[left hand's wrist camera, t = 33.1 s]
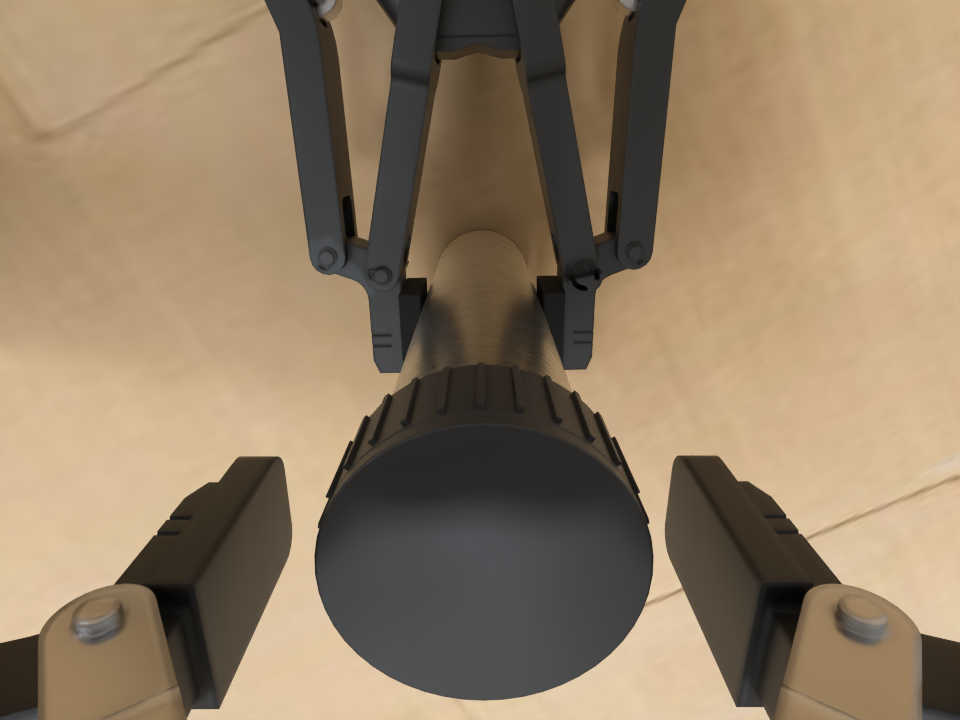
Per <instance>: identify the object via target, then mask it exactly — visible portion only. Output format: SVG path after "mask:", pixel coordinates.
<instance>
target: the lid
mask: <svg viewBox="0 0 960 720" xmlns="http://www.w3.org/2000/svg"><path fill="white" fill-rule="evenodd" d="M638 493H640V491H639V489H638V486H637V484H636V482H635V480H634V478H633V475H632V473H631V471H630V469H629V466H628V464H627V462H626V460H625V458H624V455H623V453H622V451H621V449H620V446H619V444H618V442H617V440H616V438H615V437H613V438H611V437H610V434H609V432H608V430H607V427H606V425H605V423H604V421H603V418H602V416H601V415H600V413H599V412H597V413H595V414H594V413H593V412H592V410H591V409H590V408H589V407H588V406H587V405H586V404H585V403H584V402H583V401H581V398H580V395H579V393H577V392H576V391H573V392H570V391H569V390H567V389H565V388H564V387H562V386H561V385H559V384H558V383H555V382H553V381H552V380H551V377H550V376H548V375H545V376H544V377H543V376H541V375H537V374H534V373H531V372H528V371H525V370H522V369H519V367H518V366H515V365H512V368H511V367H506V366H494V365H484V362H478V365H473V366H462V367H456V368H451V369H450V366H447V367H444V368H443V370H442V371H439V372H436V373H433V374H430V375H427V376H424V377H422V378H420V379H418V377H415V378H413V379H412V380H411V383H410V384H408V385H406V386H405V387H403V388H402V389H400V390H398V391H397V392H395V393H394V394H393V395H392V396H391V395H390V394H387V395H386V396H385V397H384V399H383V402H382V404H381V405H380V406H379V407H378V408H377V409H376V410H375V411H374V413H373V414H372V415H371V416H370V417H368V416H367V415H366V416H365V417H364V418H363V420H362V422H361V425H360V427H359V430H358V432H357V434H356V437H355V439H354V441H350V442H349V444H348V447H347V449H346V451H345V453H344V456H343V458H342V460H341V463H340V465H339V467H338V470H337V472H336V474H335V477H334V479H333V481H332V483H331V486H330V488H329V490H328V493H327V495H326V497H327V498H329V499H328V502H327V504H326V506H325V509H324V511H323V513H322V516H321V518H320V520H319V523H318V528H319V532H318V535H317V540H316V548H315V575H316V580H317V585H318V591H319V594H320V597H321V600H322V603H323V605H324V608H325V611H326V612H327V614H328V616H329V618H330V620H331V622H332V624H333V625H334V627H335V628H336V630H337V631H338V632H339V634H340V635H341V636H342V638H343V639H344V641H345V642H346V643H347V644H348V645H349V646H350V647H351V648H352V649H353V650H354V651H355V652H356V653H357V654H358V655H359V656H360V657H362V658H363V659H364V660H365V661H367V662H368V663H369V664H370V665H372V666H373V667H374V668H376V669H378V670H379V671H381V672H382V673H384V674H385V675H387V676H389V677H391V678H393V679H395V680H397V681H399V682H401V683H403V684H405V685H408V686H410V687H413V688H416V689H418V690H421V691H424V692H428V693H432V694H436V695H440V696H444V697H450V698H457V699H464V700H504V699H511V698H518V697H524V696H528V695H532V694H536V693H540V692H544V691H546V690H549V689H552V688H555V687H557V686H560V685H563V684H565V683H567V682H569V681H571V680H573V679H575V678H577V677H579V676H581V675H582V674H584V673H585V672H587V671H589V670H590V669H592V668H593V667H595V666H596V665H597V664H599V663H600V662H601V661H602V660H604V659H605V658H606V657H607V656H609V655H610V654H611V653H612V652H613V651H614V650H615V649H616V648H617V647H618V646H619V645H620V643H621V642H622V641H623V640H624V639H625V637H626V636H627V635H628V633H629V632H630V631H631V629H632V628H633V627H634V625H635V623H636V621H637V619H638V618H639V616H640V614H641V612H642V610H643V608H644V605H645V602H646V599H647V597H648V594H649V590H650V585H651V580H652V575H653V549H652V540H651V535H650V532H649V528H648V525H647V524H649V518H648V516H647V514H646V512H645V509H644V507H643V505H642V502H641V500H640V498H639V496H638Z"/></svg>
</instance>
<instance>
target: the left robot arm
mask: <svg viewBox="0 0 960 720" xmlns="http://www.w3.org/2000/svg"><path fill="white" fill-rule="evenodd" d="M157 532H158V533H157V535H154V536H153V538H152V539H151V540H150V541H149V542H148V544H147V545H146V546H145V547H144V549H143V550H142V551H141V552H140V553H139V555H138V556H137V557H136V558H135V560H134V561H133V562H132V563H131V564H130V566H129V567H128V568H127V569H126V571H125V572H124V573H123V574H122V575H121V577H120V578H119V579H118V580H117V582H116V583H115V584H114V585H111V586H106V587H103V588H100V589H96V590H94V591H91V592H88V593H86V594H84V595H82V596H80V597H78V598H76V599H74V600H73V601H71V602H69V603H68V604H66V605H65V606H63V607H62V608H61V609H59V610H58V611H57V612H56V613H55V614H54V615H52V617H51V618H50V619H49V620H48V621H47V622H46V624H45V625H44V627H43V628H42V630H41V632H40V634H38V635H34V636H30V637H26V638H22V639H17V640H13V641H8V642H4V643H0V720H187V717H188V715H189V713H190V711H191V709H219V708H220V706H221V704H222V702H223V699H224V697H225V695H226V693H227V691H228V688H229V686H230V684H231V682H232V680H233V677H234V675H235V673H236V671H237V669H238V666H239V664H240V662H241V660H242V658H243V656H244V653H245V651H246V649H247V647H248V645H249V642H250V640H251V638H252V636H253V634H254V631H255V629H256V627H257V625H258V623H259V620H260V618H261V616H262V614H263V612H264V609H265V607H266V605H267V603H268V601H269V599H270V596H271V594H272V592H273V590H274V588H275V585H276V583H277V581H278V579H279V577H280V574H281V572H282V570H283V568H284V566H285V563H286V561H287V559H288V556H289V553H290V548H291V541H292V522H291V515H290V507H289V499H288V492H287V484H286V476H285V469H284V464H283V461H282V459H281V458H280V457H238V458H237V459H236V460H235V461H234V463H233V464H232V465H231V467H230V468H229V469H228V470H227V472H226V473H225V474H224V476H223V477H222V478H221V480H220V481H219V482H209V483H207V484H206V485H204V486H202V487H201V488H199V489H198V490H196V491H195V492H193V493H192V494H190V495H189V496H187V497H186V498H184V500H183V501H182V502H181V503H180V505H179V506H178V507H177V508H176V509H175V511H174V512H173V513H172V514H171V516H170V520H166V522H165V523H164V524H163V525H162V527H161V528H160V529H159V530H158V531H157ZM665 540H666V547H667V552H668V555H669V558H670V560H671V563H672V565H673V567H674V569H675V571H676V574H677V576H678V578H679V580H680V583H681V585H682V587H683V589H684V591H685V594H686V596H687V598H688V600H689V603H690V605H691V607H692V609H693V611H694V614H695V616H696V618H697V620H698V623H699V625H700V627H701V629H702V631H703V634H704V636H705V638H706V640H707V643H708V645H709V647H710V649H711V651H712V654H713V656H714V658H715V660H716V663H717V665H718V667H719V669H720V671H721V674H722V676H723V678H724V680H725V683H726V685H727V687H728V689H729V691H730V694H731V696H732V698H733V700H734V703H735V705H736V707H764V708H765V710H766V712H767V714H768V716H769V718H770V720H960V642H955V641H951V640H946V639H942V638H937V637H933V636H929V635H924V634H920V632H919V630H918V628H917V627H916V625H915V624H914V622H913V621H912V620H911V619H910V618H909V617H908V615H906V614H905V613H904V612H903V611H902V610H901V609H899V608H898V607H897V606H895V605H894V604H892V603H891V602H889V601H887V600H886V599H884V598H882V597H880V596H878V595H876V594H874V593H872V592H869V591H866V590H864V589H860V588H857V587H854V586H849V585H843V584H842V583H841V582H840V581H839V580H838V579H837V577H836V576H835V575H834V574H833V572H832V571H831V570H830V569H829V567H828V566H827V565H826V564H825V562H824V561H823V560H822V559H821V558H820V556H819V555H818V554H817V553H816V551H815V550H814V549H813V548H812V546H811V545H810V544H809V543H808V542H807V540H806V539H805V538H804V537H803V535H802V534H799V533H798V529H797V528H796V527H795V525H794V524H793V523H792V522H791V521H790V519H786V514H785V513H784V512H783V511H782V509H781V508H780V507H779V506H778V504H777V503H776V502H775V501H774V500H773V498H772V497H771V496H769V495H768V494H766V493H765V492H763V491H762V490H760V489H759V488H757V487H756V486H754V485H752V484H751V483H749V482H748V481H737V480H736V478H735V477H734V476H733V474H732V473H731V472H730V470H729V469H728V468H727V466H726V465H725V464H724V462H723V461H722V460H721V458H720V457H718V456H677V457H676V458H675V460H674V463H673V467H672V474H671V482H670V490H669V498H668V506H667V514H666V521H665Z"/></svg>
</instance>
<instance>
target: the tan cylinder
mask: <svg viewBox="0 0 960 720" xmlns="http://www.w3.org/2000/svg"><path fill="white" fill-rule="evenodd" d="M478 362H484V365H494V366H506V367H511V368H512V365H515V366H518V367H519V369H522V370H525V371H528V372H531V373H534V374H537V375H541V376H543V377H544V376H545V375H548V376H550V377H551V380H552V381H553V382H555V383H558V384H559V385H561V386H562V387H564V388H565V389H567V390H569V391H570V392H572V390H571V387H570V384H569V382H568V379H567V376H566V373H565V371H564V368H563V365H562V362H561V359H560V357H559V354H558V351H557V348H556V346H555V343H554V340H553V337H552V334H551V332H550V329H549V326H548V323H547V321H546V318H545V315H544V312H543V309H542V307H541V304H540V301H539V298H538V296H537V293H536V290H535V287H534V284H533V282H532V279H531V276H530V273H529V271H528V268H527V265H526V262H525V260H524V257H523V255H522V253H521V251H520V250H519V248H518V247H517V246H516V245H515V244H514V243H513V242H512V241H511V240H510V239H508V238H507V237H505V236H503V235H501V234H499V233H496V232H493V231H488V230H476V231H471V232H467V233H465V234H462V235H461V236H459V237H457V238H456V239H454V240H453V241H452V242H451V243H450V244H449V245H448V246H447V247H446V248H445V250H444V251H443V253H442V255H441V257H440V259H439V262H438V265H437V268H436V270H435V273H434V276H433V279H432V282H431V285H430V288H429V291H428V294H427V297H426V299H425V302H424V305H423V308H422V311H421V314H420V317H419V320H418V323H417V326H416V328H415V331H414V334H413V337H412V340H411V343H410V346H409V349H408V352H407V354H406V357H405V360H404V363H403V366H402V369H401V372H400V375H399V378H398V381H397V383H396V386H395V389H394V392H393V394H394V393H395V392H397V391H398V390H400V389H402V388H403V387H405V386H406V385H408V384H410V383H411V380H412V379H413V378H415V377H418V379H420V378H422V377H424V376H427V375H430V374H433V373H436V372H439V371H442V370H443V368H444V367H447V366H450V369H451V368H456V367H462V366H473V365H478Z"/></svg>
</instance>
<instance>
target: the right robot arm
mask: <svg viewBox="0 0 960 720" xmlns="http://www.w3.org/2000/svg"><path fill="white" fill-rule="evenodd" d="M376 1H377V2H378V3H379V5H380V6H381V8H382V9H383V10H384V12H385V13H386V15H387V16H388V17H389V19H390V20H391V22H392V23H393V25H394V26H395V27H396V30H395V37H394V45H393V52H392V60H391V84H390V92H389V99H388V106H387V113H386V120H385V128H384V135H383V142H382V149H381V156H380V163H379V171H378V178H377V185H376V192H375V199H374V206H373V214H372V221H371V228H370V235H369V241H367V240H365V239H362V238H359V237H358V235H357V226H356V217H355V207H354V198H353V189H352V179H351V170H350V161H349V151H348V142H347V133H346V123H345V114H344V105H343V95H342V86H341V77H340V67H339V58H338V52H337V46H336V41H335V37H334V33H333V30H332V26H331V24H330V21H331V20H333V19H334V18H336V17H337V16H338V14H339V13H340V11H341V9H342V2H343V0H265V2H266V4H267V7H268V9H269V11H270V13H271V15H272V17H273V19H274V22H275V24H276V26H277V28H278V30H279V33H280V41H281V48H282V56H283V63H284V70H285V78H286V85H287V92H288V100H289V107H290V114H291V122H292V129H293V136H294V144H295V151H296V158H297V166H298V173H299V180H300V188H301V195H302V202H303V210H304V217H305V224H306V232H307V239H308V247H309V254H310V259H311V262H312V265H313V266H314V267H315V269H316V270H317V271H319V272H321V273H322V274H327V275H332V274H338V275H341V276H344V277H347V278H350V279H353V280H355V281H357V282H358V283H360V284H361V285H362V286H363V287H364V289H365V290H366V292H367V294H368V298H369V308H370V320H371V332H372V344H373V356H374V362H375V364H376V366H377V367H378V369H379V371H380V373H400V372H401V369H402V366H403V363H404V360H405V357H406V354H407V352H408V349H409V346H410V343H411V340H412V337H413V334H414V331H415V328H416V326H417V323H418V320H419V317H420V314H421V311H422V308H423V305H424V302H425V299H426V297H427V278H407V280H406V268H407V265H408V263H409V261H408V255H409V249H410V243H411V237H412V231H413V224H414V218H415V212H416V206H417V200H418V194H419V188H420V182H421V176H422V169H423V163H424V157H425V151H426V145H427V139H428V133H429V127H430V121H431V115H432V108H433V102H434V96H435V92H436V88H437V84H438V79H439V73H440V67H441V61H442V60H450V59H458V58H461V57H464V56H467V55H470V54H473V53H477V52H479V53H483V54H487V55H491V56H494V57H498V58H501V59H502V58H515V63H516V68H517V73H518V77H519V82H520V86H521V89H522V93H523V97H524V102H525V107H526V112H527V117H528V122H529V127H530V133H531V138H532V143H533V148H534V153H535V158H536V163H537V168H538V173H539V178H540V183H541V188H542V193H543V198H544V203H545V208H546V213H547V218H548V223H549V228H550V233H551V238H552V243H553V249H554V254H555V259H556V263H557V276H537V296H538V298H539V301H540V304H541V307H542V309H543V312H544V315H545V318H546V321H547V323H548V326H549V329H550V332H551V334H552V337H553V340H554V343H555V346H556V348H557V351H558V354H559V357H560V359H561V362H562V365H563V368H564V370H575V369H586V368H587V366H588V364H589V362H590V360H591V358H592V345H593V343H592V341H593V325H594V305H595V293H596V289H597V288H598V287H599V286H600V285H601V282H602V280H603V279H605V278H606V277H608V276H610V275H612V274H615V273H617V272H620V271H623V270H626V269H633V270H634V269H639V268H641V267H643V266H645V265H646V264H647V263H648V262H649V260H650V259H651V256H652V252H653V243H654V233H655V224H656V214H657V204H658V195H659V185H660V175H661V166H662V156H663V146H664V136H665V127H666V117H667V107H668V98H669V88H670V78H671V69H672V59H673V49H674V40H675V30H676V23H677V21H678V19H679V16H680V14H681V12H682V9H683V7H684V5H685V2H686V0H612V2H613V4H614V7H615V8H616V9H617V11H618V12H620V13H621V14H623V15H625V19H624V22H623V26H622V30H621V34H620V39H619V47H618V57H617V70H616V84H615V97H614V110H613V124H612V137H611V151H610V164H609V178H608V191H607V204H606V218H605V231H604V233H602V234H600V235H597V236H595V237H593V232H592V226H591V220H590V214H589V209H588V203H587V197H586V192H585V186H584V180H583V174H582V169H581V163H580V157H579V151H578V146H577V140H576V134H575V128H574V123H573V117H572V111H571V105H570V100H569V94H568V88H567V82H566V66H565V57H564V51H563V45H562V39H561V33H560V28H559V24H560V23H561V21H562V20H563V18H564V17H565V15H566V14H567V12H568V11H569V9H570V7H571V6H572V4H573V3H574V1H575V0H376Z"/></svg>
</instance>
